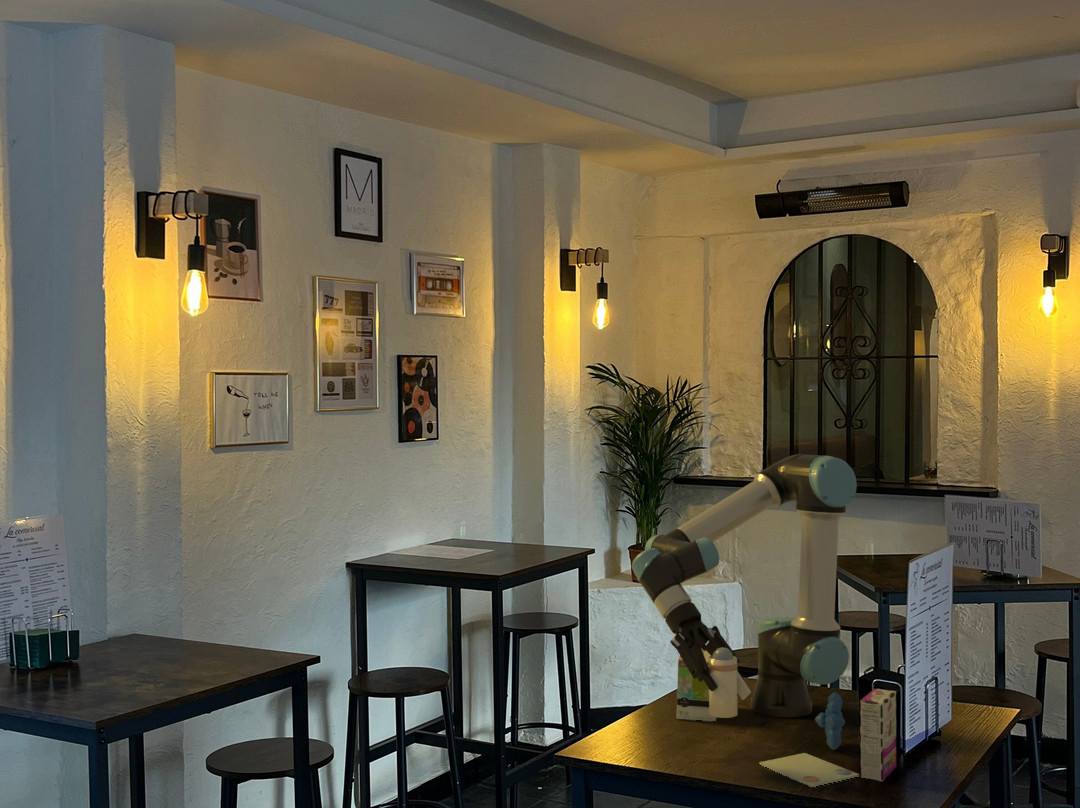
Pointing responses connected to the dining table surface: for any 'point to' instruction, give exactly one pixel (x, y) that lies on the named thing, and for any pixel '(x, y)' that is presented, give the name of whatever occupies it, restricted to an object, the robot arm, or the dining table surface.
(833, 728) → the grapes
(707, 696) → the tea box
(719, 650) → the ball tube
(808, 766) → the card
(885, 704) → the candy bar box
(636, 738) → the dining table surface
